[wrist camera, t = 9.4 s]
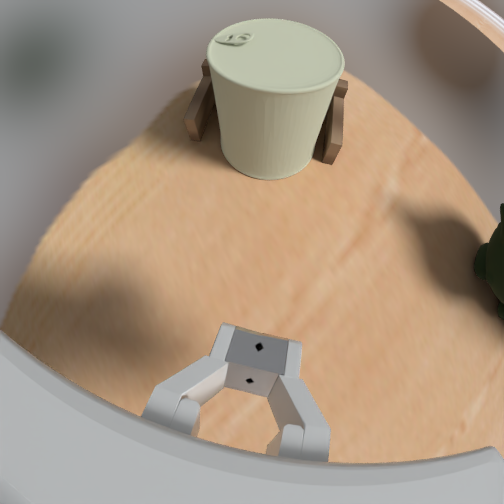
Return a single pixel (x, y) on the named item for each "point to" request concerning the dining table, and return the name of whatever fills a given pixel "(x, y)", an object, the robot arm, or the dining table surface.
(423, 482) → the robot arm
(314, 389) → the dining table surface
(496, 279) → the toy figurine
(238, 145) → the can
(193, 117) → the holder
